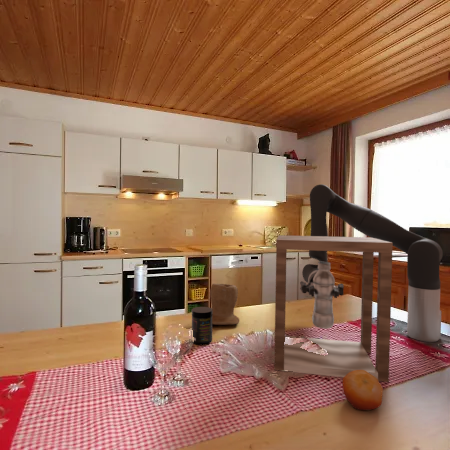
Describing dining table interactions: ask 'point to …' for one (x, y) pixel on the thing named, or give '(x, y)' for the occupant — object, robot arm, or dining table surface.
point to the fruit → (362, 390)
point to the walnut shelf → (356, 351)
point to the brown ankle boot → (223, 304)
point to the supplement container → (202, 325)
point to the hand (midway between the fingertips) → (324, 293)
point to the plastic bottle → (323, 297)
